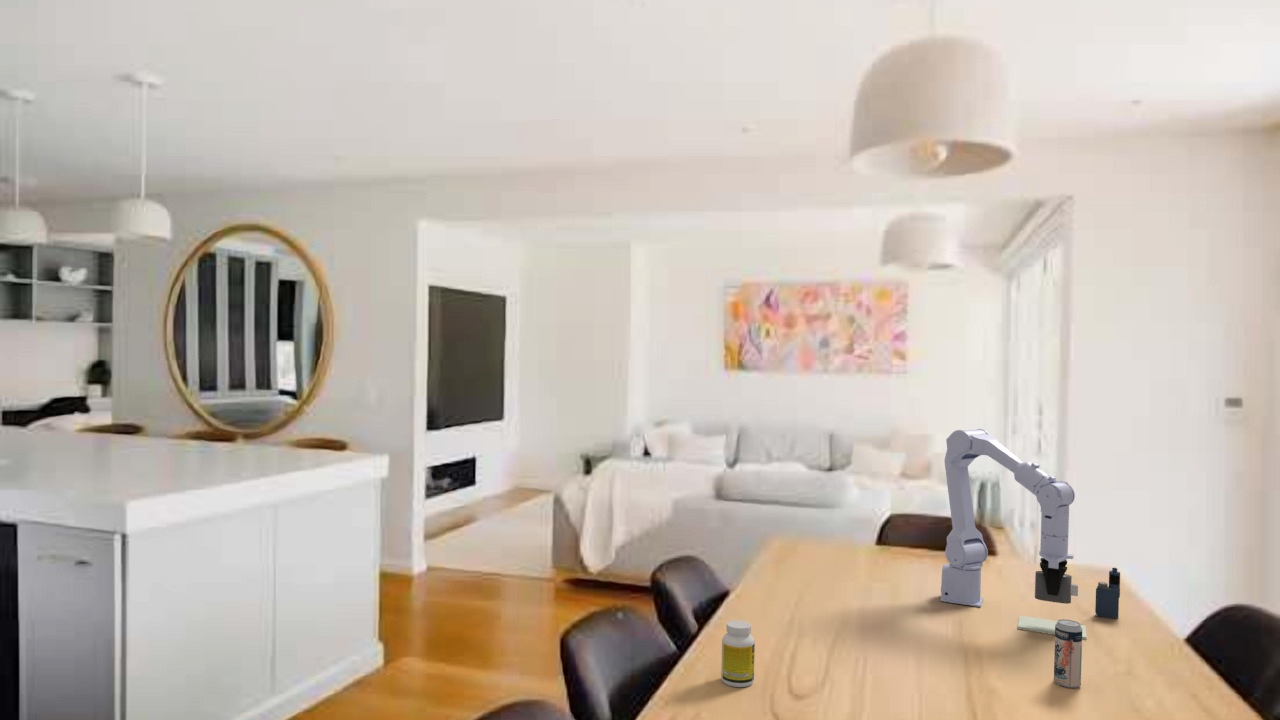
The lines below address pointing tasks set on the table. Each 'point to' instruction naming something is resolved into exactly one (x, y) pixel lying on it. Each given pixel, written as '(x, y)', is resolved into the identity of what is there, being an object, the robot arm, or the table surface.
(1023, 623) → the board
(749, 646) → the pill bottle
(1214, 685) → the table surface
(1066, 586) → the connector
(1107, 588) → the vaping device
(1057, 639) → the beer can
